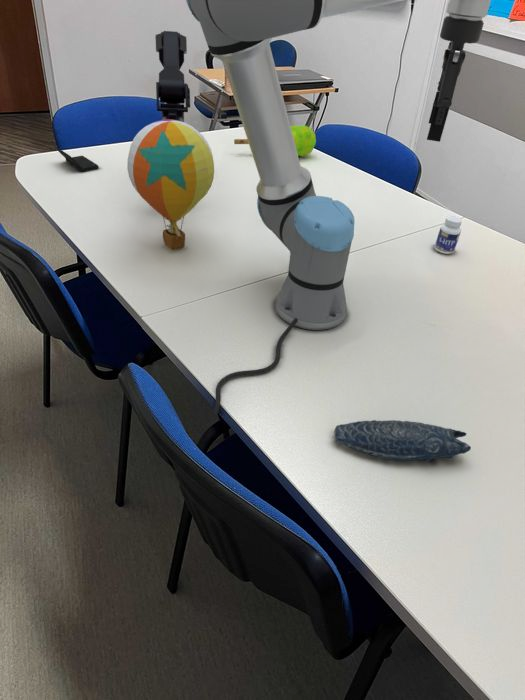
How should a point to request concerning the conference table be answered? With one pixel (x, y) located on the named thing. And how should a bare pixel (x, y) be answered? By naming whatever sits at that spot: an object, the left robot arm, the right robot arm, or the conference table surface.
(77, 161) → the black flat handled piece
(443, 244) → the pill bottle
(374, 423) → the fish model
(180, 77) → the left robot arm
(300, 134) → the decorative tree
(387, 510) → the conference table surface
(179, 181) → the toy
